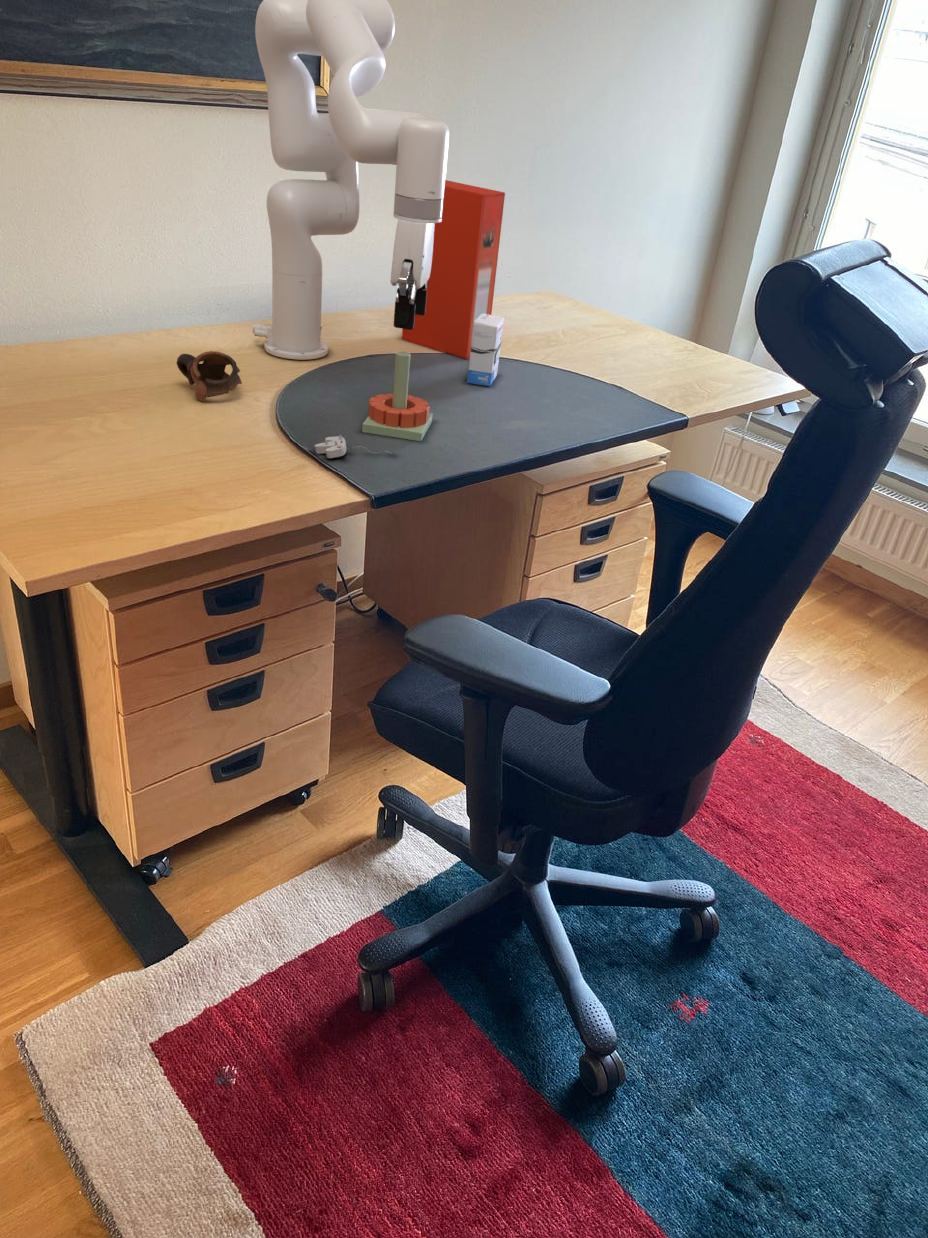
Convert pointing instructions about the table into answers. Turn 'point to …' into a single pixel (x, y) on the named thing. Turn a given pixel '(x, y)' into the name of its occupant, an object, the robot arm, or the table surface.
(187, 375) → the pottery mug
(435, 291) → the file binder
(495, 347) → the ink box
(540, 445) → the table surface
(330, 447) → the white power plug
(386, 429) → the post
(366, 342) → the table surface
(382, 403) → the ring
